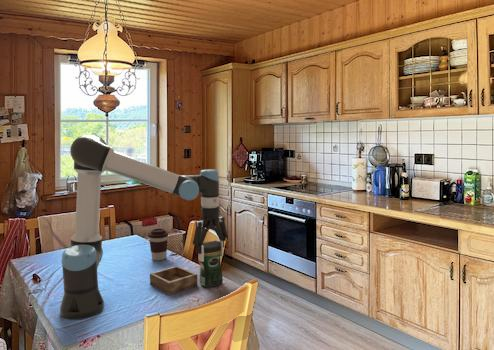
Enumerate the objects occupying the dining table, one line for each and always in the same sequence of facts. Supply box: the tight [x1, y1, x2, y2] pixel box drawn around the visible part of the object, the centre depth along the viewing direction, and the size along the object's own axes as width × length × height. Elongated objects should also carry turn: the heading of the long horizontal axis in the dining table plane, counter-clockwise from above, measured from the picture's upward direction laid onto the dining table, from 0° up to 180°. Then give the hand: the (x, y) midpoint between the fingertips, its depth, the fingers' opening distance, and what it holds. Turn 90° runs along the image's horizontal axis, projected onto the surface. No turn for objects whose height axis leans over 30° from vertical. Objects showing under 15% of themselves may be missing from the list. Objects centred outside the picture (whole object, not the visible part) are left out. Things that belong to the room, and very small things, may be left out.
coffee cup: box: [147, 228, 169, 261], centre depth 212 cm, size 10×10×15 cm
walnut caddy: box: [149, 265, 198, 296], centre depth 177 cm, size 14×15×5 cm
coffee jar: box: [199, 240, 224, 288], centre depth 177 cm, size 10×8×19 cm
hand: (211, 258), depth 176 cm, fingers closed on coffee jar, 10 cm apart
